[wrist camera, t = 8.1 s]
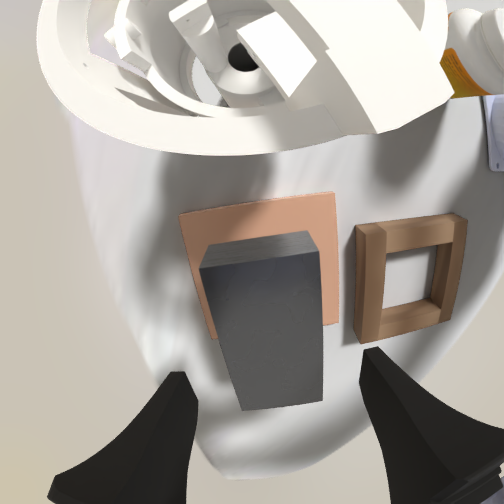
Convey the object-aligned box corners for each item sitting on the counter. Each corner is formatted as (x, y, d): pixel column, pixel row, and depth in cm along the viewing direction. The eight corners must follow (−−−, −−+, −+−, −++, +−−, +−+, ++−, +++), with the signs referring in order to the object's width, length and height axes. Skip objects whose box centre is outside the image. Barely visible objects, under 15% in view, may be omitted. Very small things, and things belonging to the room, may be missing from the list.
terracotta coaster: (332, 191, 17) (334, 193, 16) (336, 318, 21) (338, 322, 20) (180, 213, 18) (178, 216, 17) (212, 334, 21) (211, 339, 21)
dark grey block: (304, 323, 20) (322, 400, 13) (245, 331, 20) (242, 410, 14) (292, 205, 17) (319, 250, 10) (221, 216, 17) (198, 268, 10)
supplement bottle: (457, 104, 14) (552, 105, 5) (403, 96, 14) (505, 80, 5) (444, 43, 12) (528, 18, 3) (389, 29, 12) (470, -21, 3)
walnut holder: (452, 213, 17) (467, 220, 15) (439, 307, 21) (450, 319, 19) (355, 225, 18) (365, 234, 16) (353, 329, 21) (360, 344, 19)
